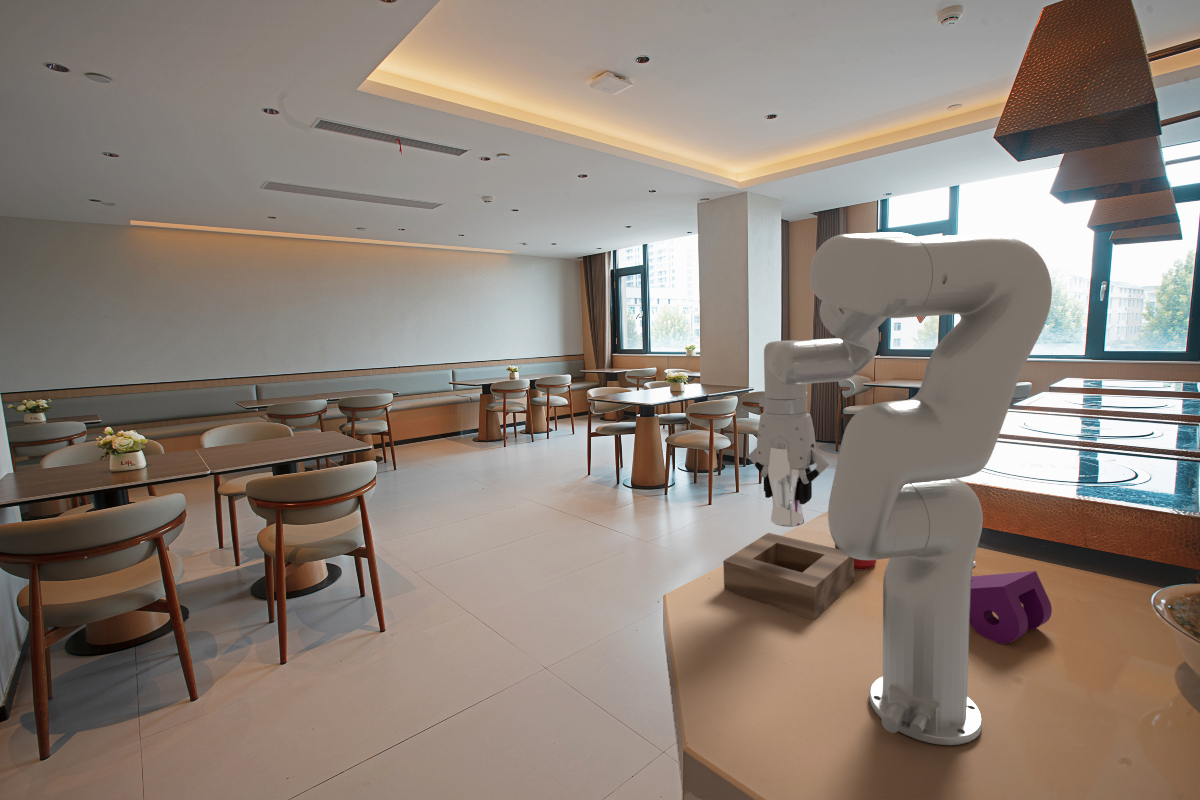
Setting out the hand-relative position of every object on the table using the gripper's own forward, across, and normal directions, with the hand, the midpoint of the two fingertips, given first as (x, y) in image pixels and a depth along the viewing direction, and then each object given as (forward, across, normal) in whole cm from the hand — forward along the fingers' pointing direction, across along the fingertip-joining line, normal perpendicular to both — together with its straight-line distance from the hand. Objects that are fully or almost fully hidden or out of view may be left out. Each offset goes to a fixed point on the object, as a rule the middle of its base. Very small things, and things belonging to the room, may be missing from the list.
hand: (787, 498), depth 106 cm
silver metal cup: (+5, 0, 0) cm, 5 cm away
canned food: (+18, +6, +18) cm, 26 cm away
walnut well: (+18, 0, 0) cm, 18 cm away
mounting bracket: (+18, +29, +8) cm, 35 cm away
